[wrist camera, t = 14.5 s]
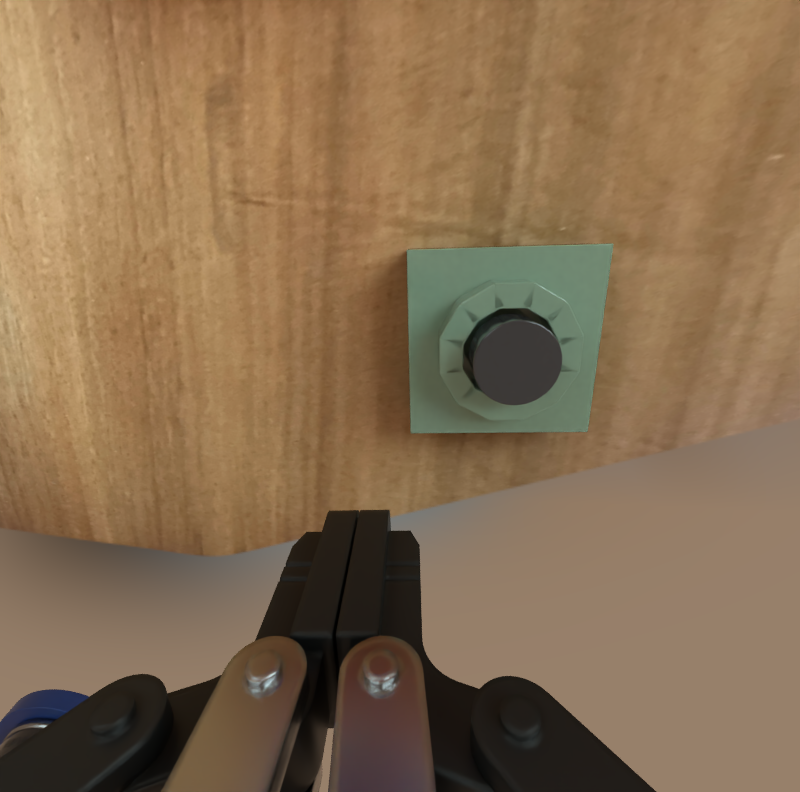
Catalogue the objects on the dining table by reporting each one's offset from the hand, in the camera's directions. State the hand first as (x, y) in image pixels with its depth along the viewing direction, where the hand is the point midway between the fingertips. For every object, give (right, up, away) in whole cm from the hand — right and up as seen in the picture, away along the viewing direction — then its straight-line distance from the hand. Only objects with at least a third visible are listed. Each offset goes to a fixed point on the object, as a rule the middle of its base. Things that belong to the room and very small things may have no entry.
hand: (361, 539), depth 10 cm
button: (+6, +6, +10) cm, 13 cm away
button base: (+7, +7, +15) cm, 18 cm away
